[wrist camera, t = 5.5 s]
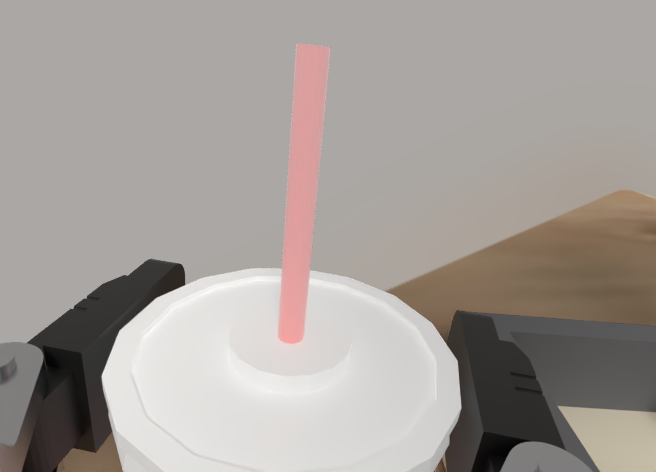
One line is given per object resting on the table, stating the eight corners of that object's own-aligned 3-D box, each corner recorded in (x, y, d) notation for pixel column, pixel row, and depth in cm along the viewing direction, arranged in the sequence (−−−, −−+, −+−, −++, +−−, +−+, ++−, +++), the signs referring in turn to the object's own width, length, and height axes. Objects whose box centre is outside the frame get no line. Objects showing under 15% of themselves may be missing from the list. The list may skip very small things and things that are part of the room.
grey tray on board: (664, 396, 22) (704, 317, 20) (1016, 758, 11) (1171, 653, 9) (419, 379, 21) (437, 296, 19) (526, 746, 10) (591, 631, 8)
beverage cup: (433, 643, 12) (622, 78, 6) (232, 934, 8) (275, 49, 2) (284, 481, 16) (322, 43, 10) (98, 618, 12) (-7, 11, 6)
